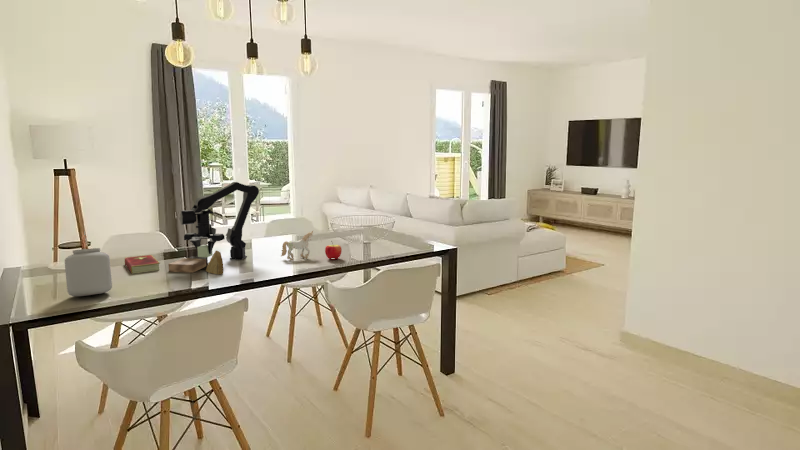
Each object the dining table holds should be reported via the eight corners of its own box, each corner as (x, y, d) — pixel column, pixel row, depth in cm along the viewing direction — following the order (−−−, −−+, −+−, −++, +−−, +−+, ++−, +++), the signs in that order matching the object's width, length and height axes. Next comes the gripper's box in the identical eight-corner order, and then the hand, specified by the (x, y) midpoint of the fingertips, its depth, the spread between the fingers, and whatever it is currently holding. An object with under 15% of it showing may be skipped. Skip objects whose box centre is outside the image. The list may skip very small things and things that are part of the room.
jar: (68, 291, 197) (62, 230, 193) (111, 286, 205) (106, 227, 201) (67, 304, 181) (60, 237, 177) (113, 298, 189) (108, 234, 185)
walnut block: (206, 267, 240) (205, 259, 239) (193, 273, 228) (192, 264, 227) (183, 266, 241) (182, 258, 240) (168, 272, 229) (168, 263, 229)
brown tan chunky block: (229, 269, 224) (230, 261, 233) (216, 256, 221) (217, 248, 230) (210, 284, 224) (211, 275, 233) (196, 271, 220) (198, 263, 229)
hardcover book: (131, 274, 225) (130, 265, 224) (124, 265, 241) (124, 257, 241) (160, 271, 231) (159, 262, 231) (151, 262, 248) (151, 254, 248)
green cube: (212, 255, 248) (211, 245, 248) (207, 257, 244) (206, 247, 243) (203, 254, 249) (202, 245, 248) (197, 256, 244) (197, 247, 243)
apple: (322, 260, 254) (321, 241, 252) (330, 256, 262) (330, 238, 260) (336, 261, 251) (336, 242, 249) (344, 258, 259) (344, 239, 257)
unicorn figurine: (320, 257, 261) (319, 232, 259) (286, 262, 249) (285, 236, 246) (313, 254, 266) (313, 230, 264) (280, 259, 254) (279, 234, 252)
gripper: (228, 221, 250) (230, 251, 253) (194, 220, 253) (196, 249, 255) (218, 224, 239) (219, 255, 242) (182, 223, 242) (184, 254, 244)
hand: (205, 253), depth 246 cm, fingers closed on green cube, 5 cm apart
